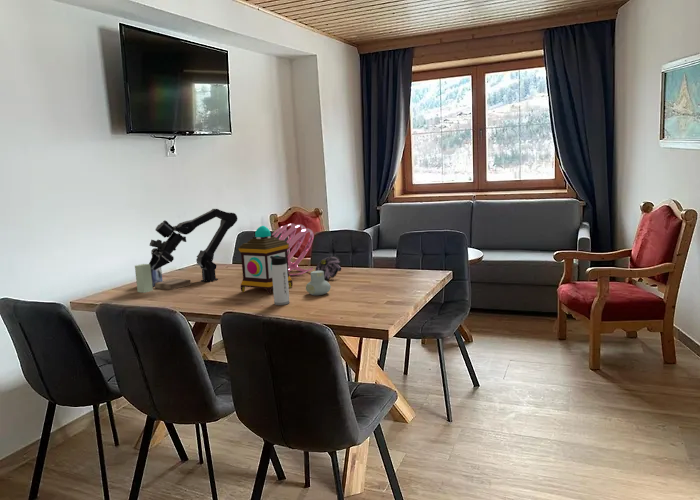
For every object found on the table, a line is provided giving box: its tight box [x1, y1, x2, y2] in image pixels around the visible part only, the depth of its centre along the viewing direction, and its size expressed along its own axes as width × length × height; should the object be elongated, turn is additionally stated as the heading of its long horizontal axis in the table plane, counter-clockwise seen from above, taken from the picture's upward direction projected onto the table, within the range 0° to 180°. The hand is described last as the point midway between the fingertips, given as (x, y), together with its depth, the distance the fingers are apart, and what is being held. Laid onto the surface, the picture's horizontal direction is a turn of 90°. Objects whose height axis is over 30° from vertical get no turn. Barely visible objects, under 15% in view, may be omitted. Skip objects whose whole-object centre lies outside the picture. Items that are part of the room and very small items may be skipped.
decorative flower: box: [314, 255, 342, 282], centre depth 280 cm, size 14×12×15 cm
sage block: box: [134, 263, 154, 294], centre depth 271 cm, size 5×5×13 cm
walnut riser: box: [154, 278, 192, 291], centre depth 280 cm, size 12×12×2 cm
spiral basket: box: [271, 223, 315, 277], centre depth 295 cm, size 28×28×27 cm
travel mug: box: [270, 256, 290, 306], centre depth 230 cm, size 6×7×20 cm
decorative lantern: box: [237, 225, 294, 296], centre depth 258 cm, size 20×20×30 cm
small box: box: [151, 265, 164, 288], centre depth 285 cm, size 11×6×10 cm, turn 168°
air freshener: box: [305, 270, 332, 296], centre depth 245 cm, size 11×8×10 cm
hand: (151, 268), depth 272 cm, fingers open, 9 cm apart
